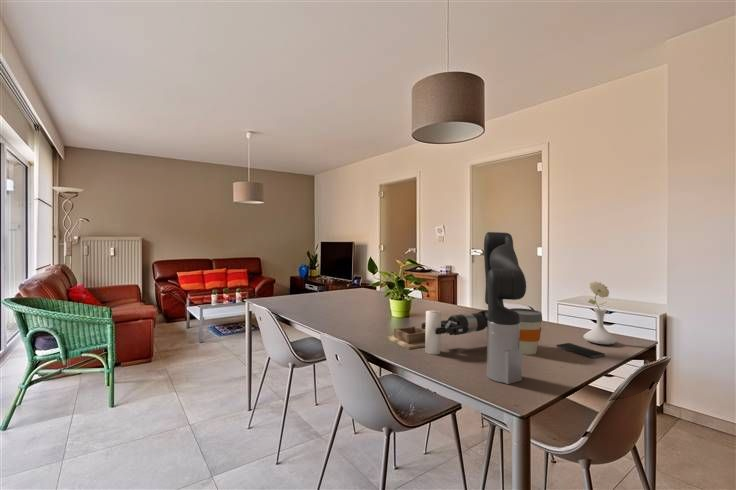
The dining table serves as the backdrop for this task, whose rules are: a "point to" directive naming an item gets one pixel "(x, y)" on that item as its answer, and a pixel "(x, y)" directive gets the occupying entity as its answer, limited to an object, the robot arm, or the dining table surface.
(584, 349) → the phone
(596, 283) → the flower in vase
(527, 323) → the reusable coffee cup
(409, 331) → the open wooden box
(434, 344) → the paper towel roll
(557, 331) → the dining table surface
